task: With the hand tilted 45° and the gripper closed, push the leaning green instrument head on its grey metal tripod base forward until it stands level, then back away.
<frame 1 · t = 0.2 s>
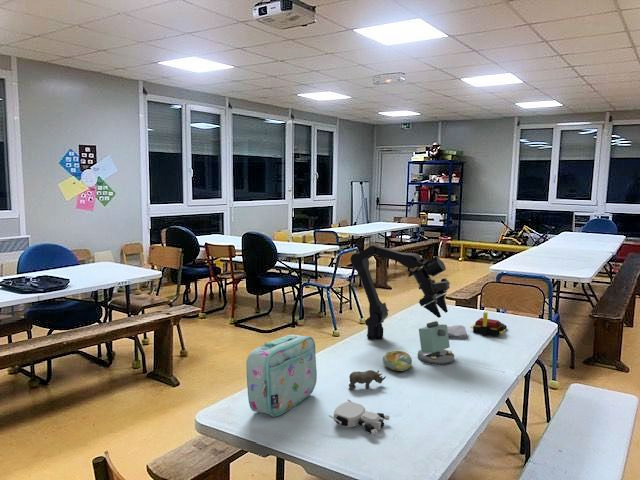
hand: (443, 314, 209), 15 cm above the table, tool tilted 35°, fingers open, 9 cm apart
robot toy: (359, 426, 147), on the table
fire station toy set: (490, 332, 238), on the table
stone block: (453, 336, 230), on the table
instrument head: (435, 335, 200), point 9 cm above the table, hinge at -12.0°
rhino figurine: (367, 387, 173), on the table
tripod base: (435, 358, 200), on the table
cell model: (398, 367, 192), on the table
lunch box: (283, 404, 160), on the table
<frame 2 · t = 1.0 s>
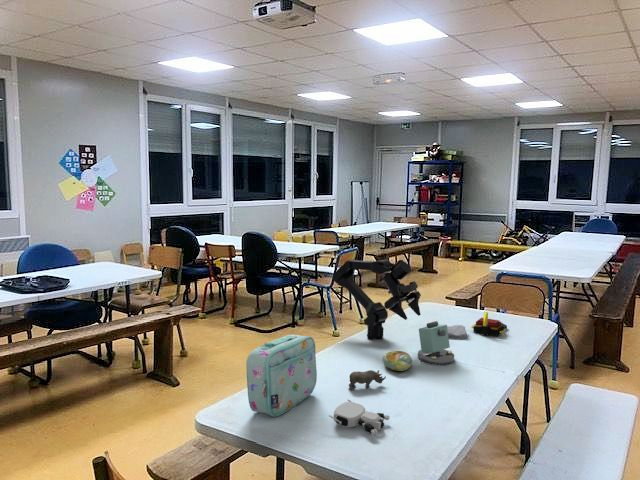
hand: (413, 317, 211), 13 cm above the table, tool tilted 40°, fingers open, 9 cm apart
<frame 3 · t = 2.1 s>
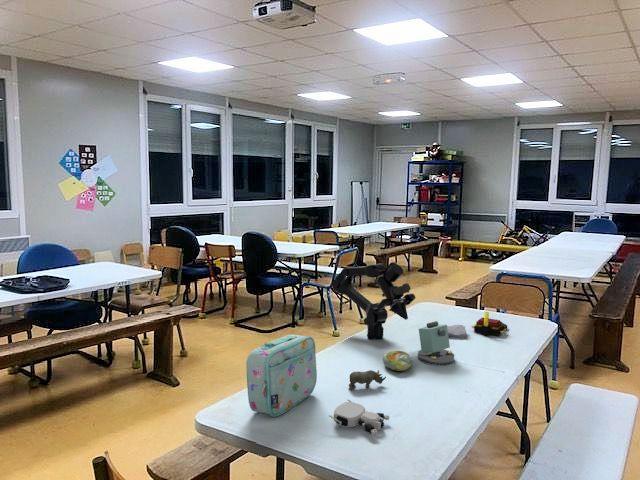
hand: (406, 319, 211), 13 cm above the table, tool tilted 45°, fingers closed
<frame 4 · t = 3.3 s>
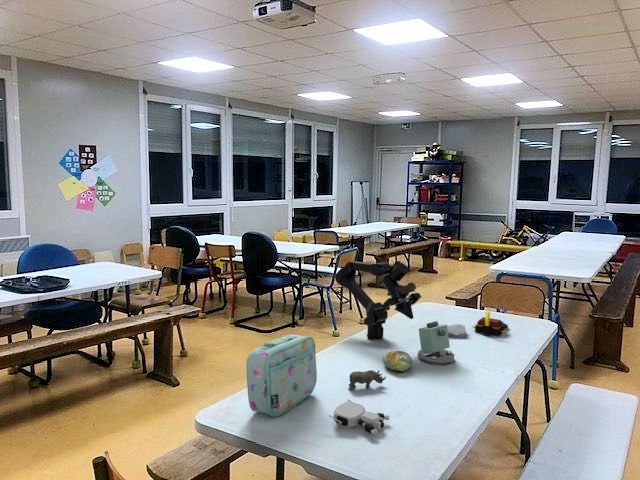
hand: (412, 318, 209), 14 cm above the table, tool tilted 45°, fingers closed
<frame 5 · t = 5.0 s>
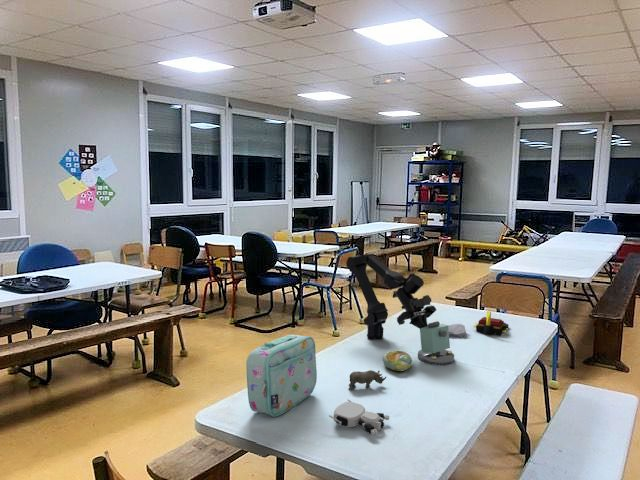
hand: (428, 332, 203), 10 cm above the table, tool tilted 45°, fingers closed, pressing on instrument head
instrument head: (436, 336, 199), point 9 cm above the table, hinge at -8.2°, touching gripper
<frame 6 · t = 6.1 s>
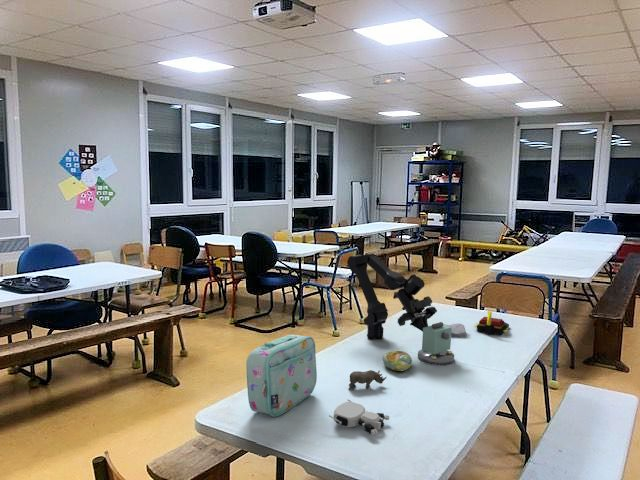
hand: (428, 333, 202), 9 cm above the table, tool tilted 45°, fingers closed
instrument head: (438, 337, 198), point 9 cm above the table, hinge at 1.4°
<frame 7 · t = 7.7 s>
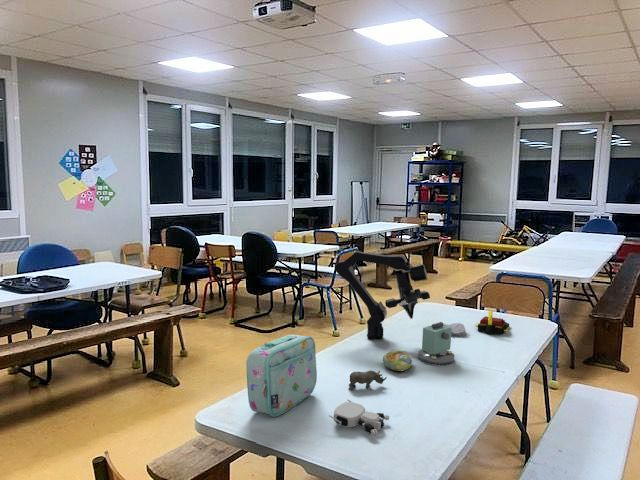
hand: (411, 318, 221), 10 cm above the table, tool pointing down, fingers closed
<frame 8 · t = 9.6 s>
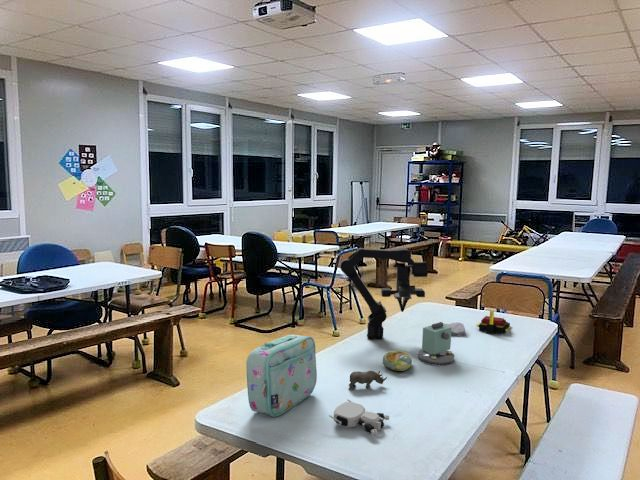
hand: (402, 311, 225), 12 cm above the table, tool pointing down, fingers closed
at the end: instrument head at +1° (first picture: -12°); instrument head tilted 1° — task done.
